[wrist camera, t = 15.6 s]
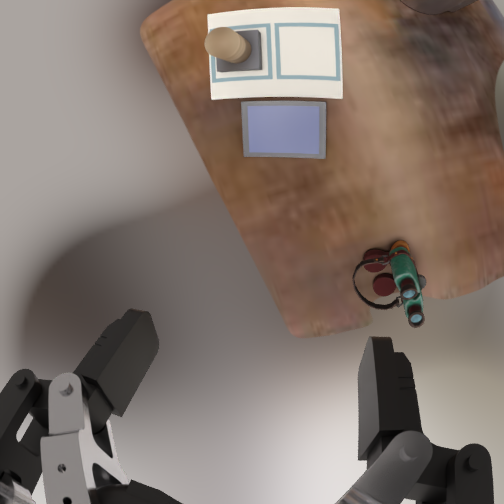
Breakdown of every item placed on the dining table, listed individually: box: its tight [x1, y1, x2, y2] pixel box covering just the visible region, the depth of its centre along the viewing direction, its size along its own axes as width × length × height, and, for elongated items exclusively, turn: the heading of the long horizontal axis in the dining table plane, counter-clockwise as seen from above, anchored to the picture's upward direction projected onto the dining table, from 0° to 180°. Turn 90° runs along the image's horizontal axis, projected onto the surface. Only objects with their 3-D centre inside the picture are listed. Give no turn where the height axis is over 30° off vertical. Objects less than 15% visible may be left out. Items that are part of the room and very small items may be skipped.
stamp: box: [205, 27, 262, 73], centre depth 27 cm, size 5×5×8 cm
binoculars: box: [353, 241, 426, 328], centre depth 36 cm, size 9×10×10 cm
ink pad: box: [241, 101, 326, 159], centre depth 34 cm, size 10×7×2 cm
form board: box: [208, 7, 343, 100], centre depth 29 cm, size 16×12×1 cm
